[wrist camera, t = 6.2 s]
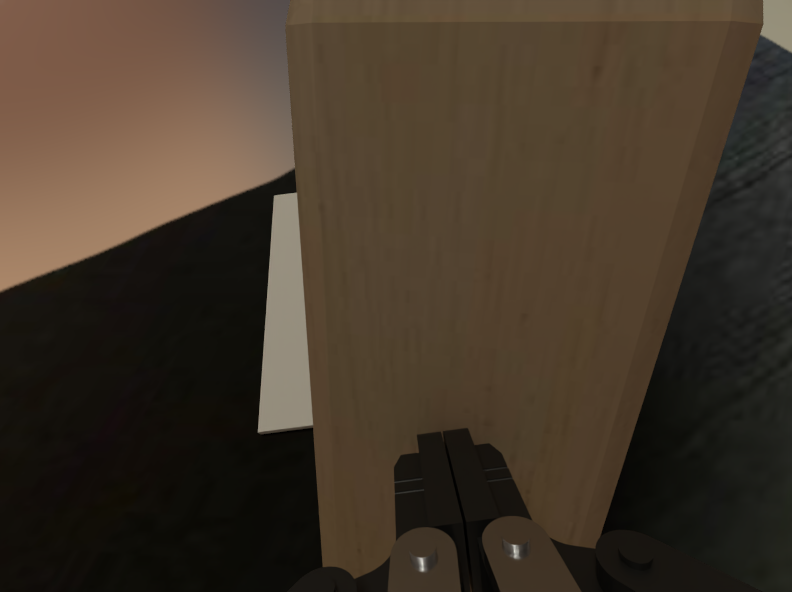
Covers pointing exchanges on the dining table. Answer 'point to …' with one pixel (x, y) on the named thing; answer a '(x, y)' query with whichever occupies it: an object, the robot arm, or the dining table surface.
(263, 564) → the dining table surface
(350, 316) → the wooden block
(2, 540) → the dining table surface
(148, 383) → the dining table surface
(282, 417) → the pale grey mat
